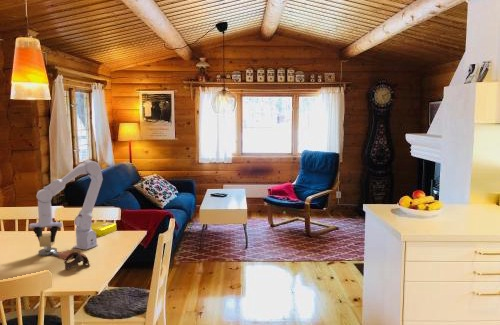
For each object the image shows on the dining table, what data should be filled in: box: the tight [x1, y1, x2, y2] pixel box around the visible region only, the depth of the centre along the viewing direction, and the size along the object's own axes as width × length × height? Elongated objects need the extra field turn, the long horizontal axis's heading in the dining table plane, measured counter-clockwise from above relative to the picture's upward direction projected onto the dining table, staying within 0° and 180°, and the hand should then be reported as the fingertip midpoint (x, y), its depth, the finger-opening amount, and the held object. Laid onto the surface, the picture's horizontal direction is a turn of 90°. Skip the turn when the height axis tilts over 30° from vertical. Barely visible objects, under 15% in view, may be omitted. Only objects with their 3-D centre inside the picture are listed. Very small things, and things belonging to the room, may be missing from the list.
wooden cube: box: [38, 232, 56, 248], centre depth 195 cm, size 5×5×5 cm
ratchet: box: [38, 246, 74, 260], centre depth 192 cm, size 22×8×5 cm, turn 65°
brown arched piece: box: [63, 250, 91, 270], centre depth 177 cm, size 12×10×8 cm
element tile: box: [91, 220, 118, 238], centre depth 231 cm, size 15×15×5 cm
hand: (47, 241), depth 195 cm, fingers closed on wooden cube, 5 cm apart
